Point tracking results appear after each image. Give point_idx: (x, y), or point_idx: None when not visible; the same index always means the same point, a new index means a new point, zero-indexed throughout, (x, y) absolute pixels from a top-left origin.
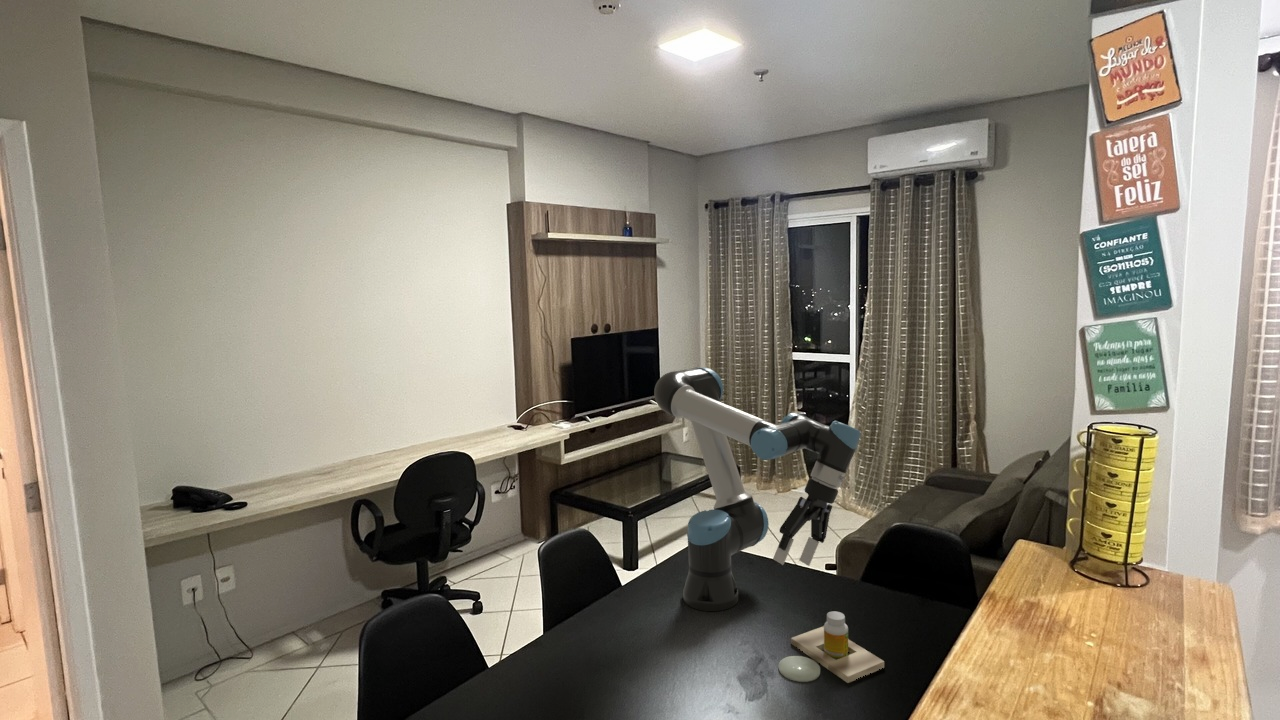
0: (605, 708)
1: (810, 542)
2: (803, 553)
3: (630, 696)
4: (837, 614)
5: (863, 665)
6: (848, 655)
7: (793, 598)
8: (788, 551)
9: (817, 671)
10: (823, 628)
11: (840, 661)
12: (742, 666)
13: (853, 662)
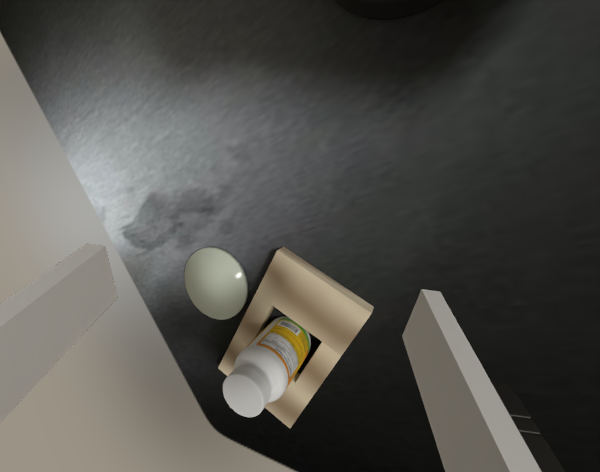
0: (17, 61)
1: (477, 456)
2: (436, 336)
3: (44, 72)
4: (248, 400)
5: None
6: None
7: (550, 170)
8: (48, 362)
9: (218, 315)
10: (353, 310)
11: None
12: (176, 188)
13: None
